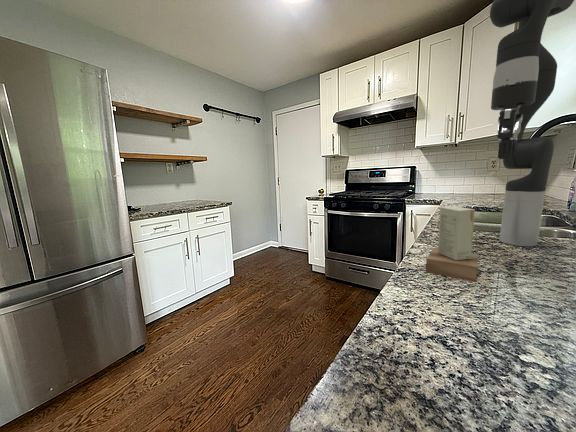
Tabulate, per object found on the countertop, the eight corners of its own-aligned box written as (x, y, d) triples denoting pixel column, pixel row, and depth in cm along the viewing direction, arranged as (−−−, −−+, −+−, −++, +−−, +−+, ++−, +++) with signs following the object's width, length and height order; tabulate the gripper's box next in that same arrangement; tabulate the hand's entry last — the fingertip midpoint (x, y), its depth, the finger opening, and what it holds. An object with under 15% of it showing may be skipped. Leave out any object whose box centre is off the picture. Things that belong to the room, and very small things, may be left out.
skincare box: (471, 259, 59) (477, 209, 57) (455, 261, 59) (460, 210, 56) (451, 250, 66) (455, 205, 63) (436, 252, 65) (439, 206, 63)
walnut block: (432, 261, 70) (433, 248, 69) (476, 269, 63) (478, 254, 63) (425, 274, 62) (426, 258, 61) (475, 283, 56) (477, 267, 55)
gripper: (496, 93, 63) (490, 158, 66) (487, 83, 54) (481, 160, 57) (538, 85, 58) (529, 156, 61) (536, 72, 48) (526, 157, 51)
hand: (506, 158), depth 59 cm, fingers open, 8 cm apart
